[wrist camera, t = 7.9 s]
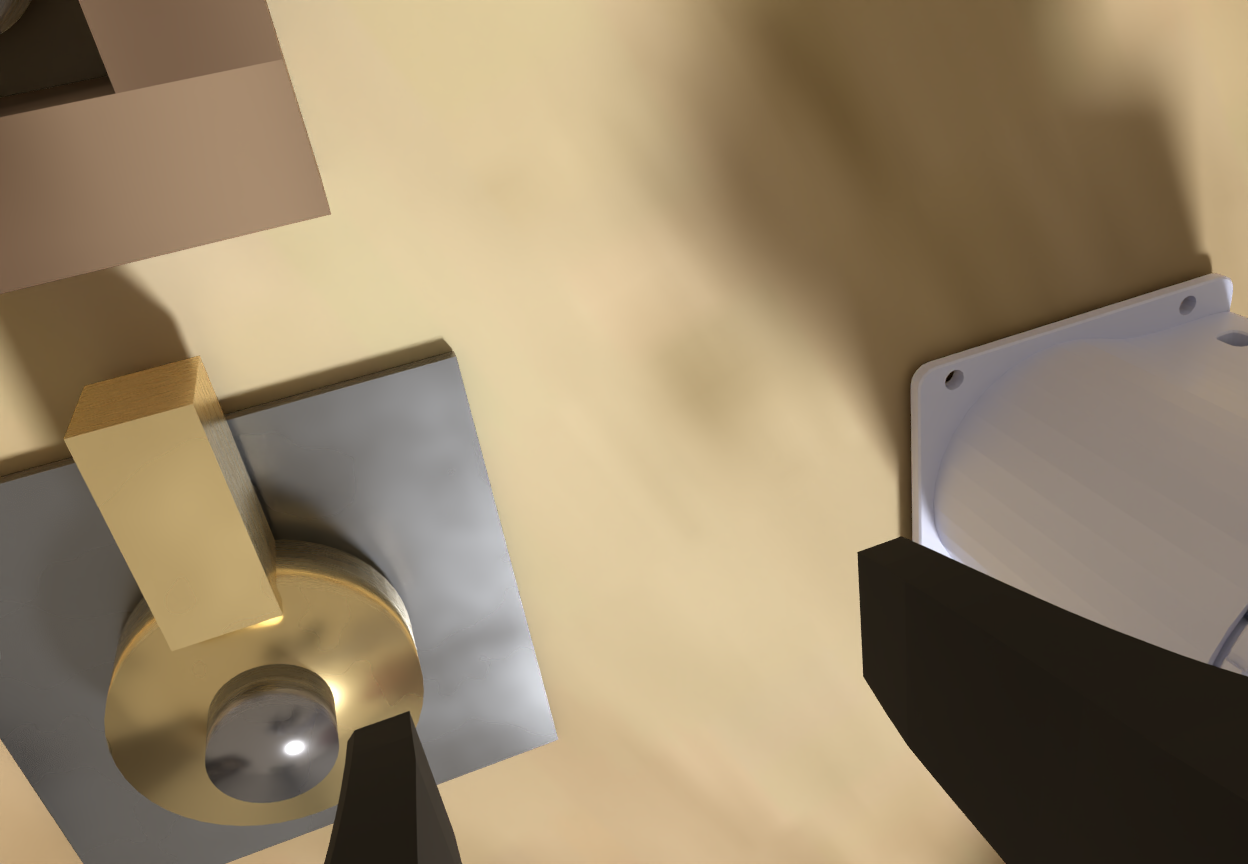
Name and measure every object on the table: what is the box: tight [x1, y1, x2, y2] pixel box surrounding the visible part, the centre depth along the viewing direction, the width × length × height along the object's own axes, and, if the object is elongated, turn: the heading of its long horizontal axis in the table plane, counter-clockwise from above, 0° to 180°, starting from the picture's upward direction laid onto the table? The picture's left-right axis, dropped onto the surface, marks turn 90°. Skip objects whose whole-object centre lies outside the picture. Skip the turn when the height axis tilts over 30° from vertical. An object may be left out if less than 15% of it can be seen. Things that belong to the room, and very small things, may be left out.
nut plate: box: [0, 351, 558, 864], centre depth 21 cm, size 11×11×1 cm
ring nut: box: [64, 356, 424, 826], centre depth 19 cm, size 6×10×3 cm, turn 9°
